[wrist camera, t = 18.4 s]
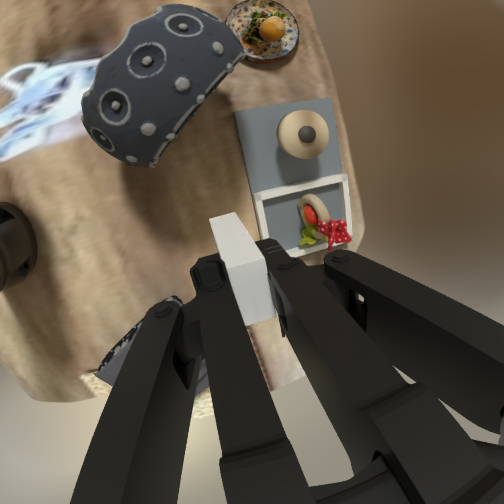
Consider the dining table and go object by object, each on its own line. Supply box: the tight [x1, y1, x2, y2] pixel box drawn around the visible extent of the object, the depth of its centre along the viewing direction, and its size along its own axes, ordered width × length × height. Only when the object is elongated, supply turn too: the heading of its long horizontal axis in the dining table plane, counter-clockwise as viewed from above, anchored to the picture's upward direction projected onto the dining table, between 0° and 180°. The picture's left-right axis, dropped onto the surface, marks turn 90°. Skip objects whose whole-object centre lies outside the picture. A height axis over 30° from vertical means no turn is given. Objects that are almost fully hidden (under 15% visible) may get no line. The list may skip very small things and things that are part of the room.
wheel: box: [276, 110, 329, 159], centre depth 39 cm, size 7×7×3 cm
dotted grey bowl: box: [81, 4, 247, 169], centre depth 29 cm, size 11×20×20 cm, turn 141°
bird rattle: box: [297, 194, 352, 251], centre depth 44 cm, size 6×11×9 cm
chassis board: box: [234, 98, 353, 258], centre depth 46 cm, size 16×26×4 cm, turn 12°
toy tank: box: [93, 296, 209, 396], centre depth 48 cm, size 18×25×15 cm
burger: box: [225, 0, 299, 63], centre depth 33 cm, size 12×12×8 cm
